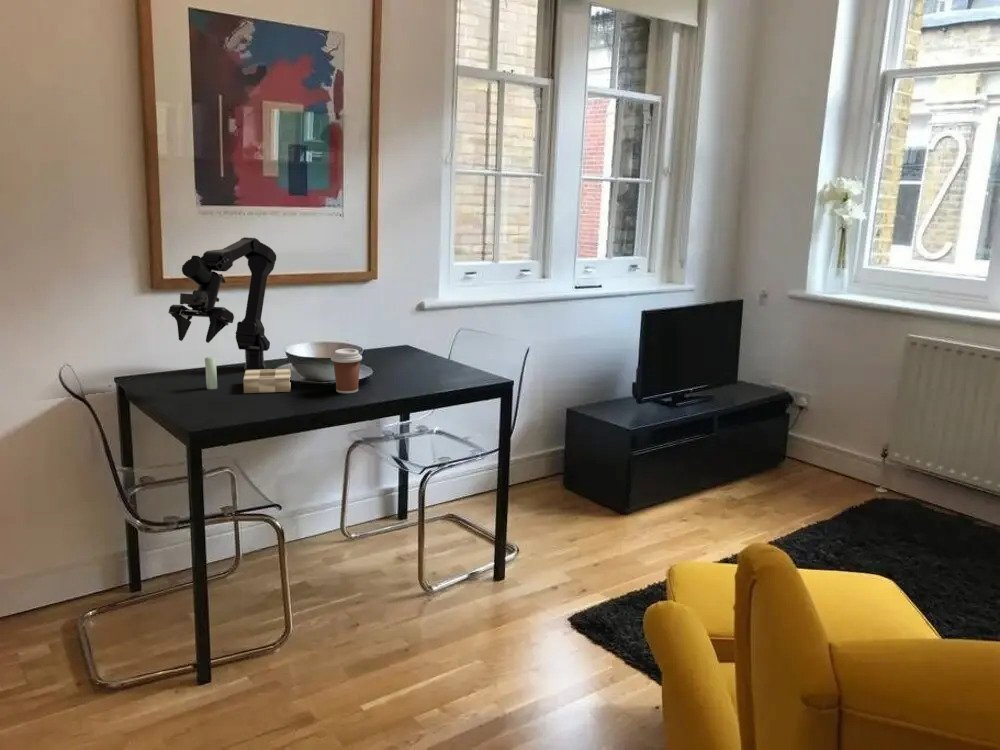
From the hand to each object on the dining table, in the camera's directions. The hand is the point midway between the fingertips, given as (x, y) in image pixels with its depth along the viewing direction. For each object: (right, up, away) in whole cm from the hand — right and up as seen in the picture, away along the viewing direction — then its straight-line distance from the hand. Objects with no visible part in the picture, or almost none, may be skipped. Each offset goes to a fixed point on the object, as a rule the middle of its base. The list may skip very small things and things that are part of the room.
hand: (193, 341), depth 240 cm
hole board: (+18, -13, +10) cm, 25 cm away
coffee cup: (+42, -14, +9) cm, 46 cm away
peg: (+3, -14, +8) cm, 16 cm away
